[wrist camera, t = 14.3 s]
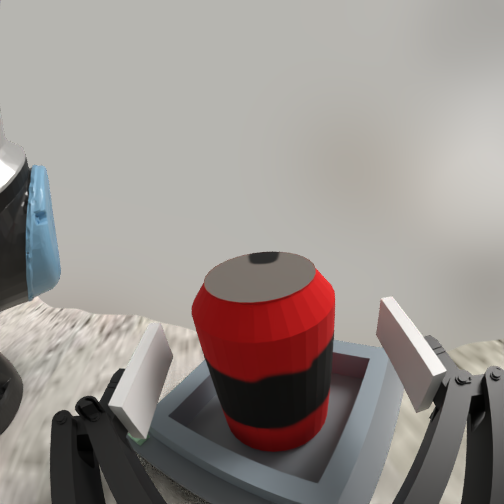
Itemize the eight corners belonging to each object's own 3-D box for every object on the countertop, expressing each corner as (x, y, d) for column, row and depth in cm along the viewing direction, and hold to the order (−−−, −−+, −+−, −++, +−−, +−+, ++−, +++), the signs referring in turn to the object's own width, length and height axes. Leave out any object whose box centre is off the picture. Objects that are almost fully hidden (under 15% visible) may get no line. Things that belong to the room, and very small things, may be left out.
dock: (126, 444, 16) (107, 421, 15) (243, 331, 30) (238, 306, 29) (342, 552, 7) (352, 549, 6) (406, 365, 21) (414, 336, 20)
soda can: (323, 376, 21) (324, 241, 17) (330, 451, 14) (349, 308, 10) (236, 379, 22) (207, 251, 18) (219, 451, 15) (161, 316, 11)
